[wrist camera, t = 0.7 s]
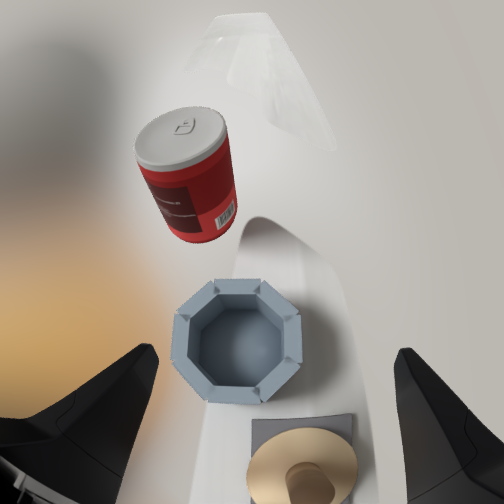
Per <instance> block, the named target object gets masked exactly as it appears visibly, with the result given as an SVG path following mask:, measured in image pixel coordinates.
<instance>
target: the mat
mask: <svg viewBox="0 0 504 504" xmlns="http://www.w3.org/2000/svg"><path fill="white" fill-rule="evenodd" d="M299 427H316V428H321V429H325V430H328V431H331V432H333V433H335V434H337V435H338V436H340V437H341V438H343V439H344V440H345V441H346V442H347V443H349V445H350V446H351V447H352V414H343V415H334V416H325V417H313V418H298V419H252V447H251V458H252V457H253V455H254V453H255V452H256V451H257V449H258V448H259V447H260V446H261V445H262V444H263V443H264V442H266V441H267V440H268V439H269V438H271V437H273V436H274V435H276V434H278V433H281V432H283V431H286V430H289V429H293V428H299ZM348 503H349V495H348V496H347V497H346V498H345V499H344V500H343V501H342V502H341V503H340V504H348ZM251 504H256V503H255V502H254V500H253V499H252V497H251Z"/></svg>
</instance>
